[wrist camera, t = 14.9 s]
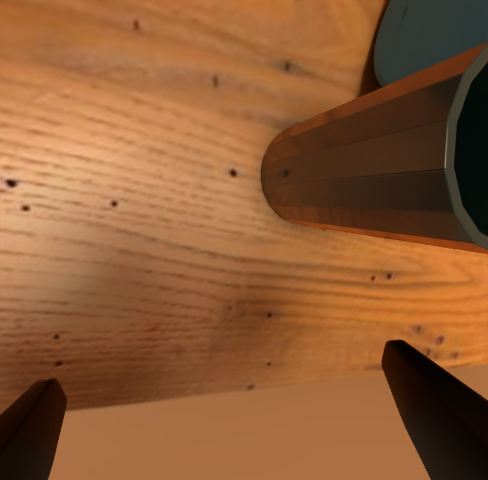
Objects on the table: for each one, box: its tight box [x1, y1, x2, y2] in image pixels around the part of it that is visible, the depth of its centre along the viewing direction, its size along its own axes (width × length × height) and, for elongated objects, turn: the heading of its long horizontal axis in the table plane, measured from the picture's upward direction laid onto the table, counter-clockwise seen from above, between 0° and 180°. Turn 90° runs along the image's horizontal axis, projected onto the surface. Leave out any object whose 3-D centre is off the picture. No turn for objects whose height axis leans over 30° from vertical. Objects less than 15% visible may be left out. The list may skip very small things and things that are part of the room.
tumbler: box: [261, 42, 488, 254], centre depth 16 cm, size 7×7×13 cm
